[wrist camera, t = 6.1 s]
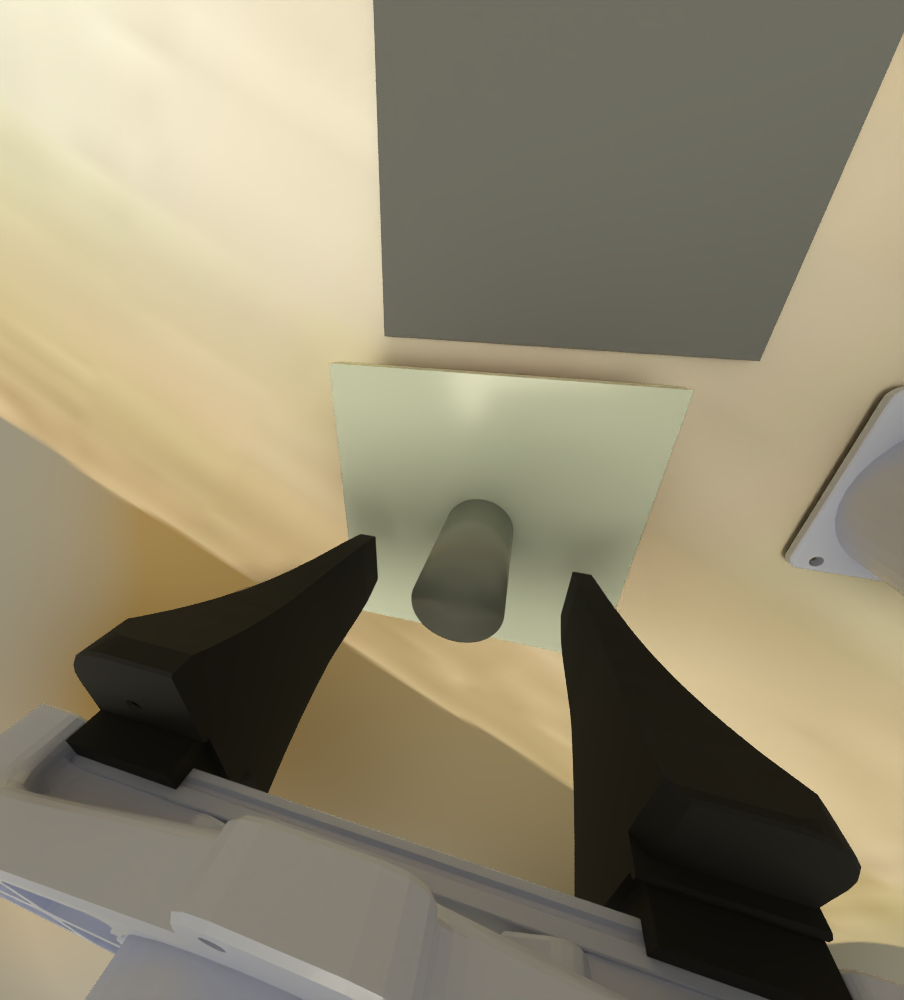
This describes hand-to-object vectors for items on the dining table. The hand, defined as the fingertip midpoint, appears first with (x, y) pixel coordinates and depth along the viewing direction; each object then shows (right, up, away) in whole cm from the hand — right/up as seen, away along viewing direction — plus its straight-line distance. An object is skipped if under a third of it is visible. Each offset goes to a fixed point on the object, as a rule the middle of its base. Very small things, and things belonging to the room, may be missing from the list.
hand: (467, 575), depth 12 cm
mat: (+4, +16, -1) cm, 17 cm away
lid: (+1, +2, +2) cm, 3 cm away
